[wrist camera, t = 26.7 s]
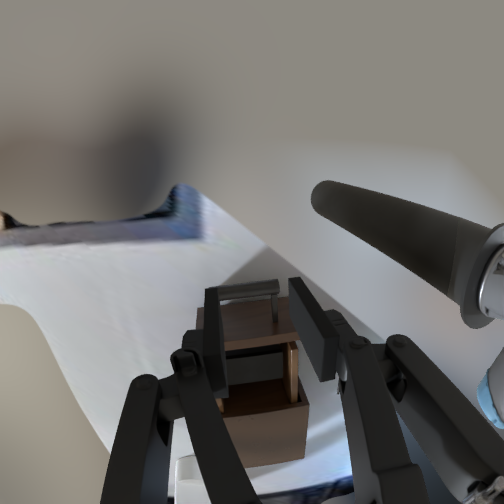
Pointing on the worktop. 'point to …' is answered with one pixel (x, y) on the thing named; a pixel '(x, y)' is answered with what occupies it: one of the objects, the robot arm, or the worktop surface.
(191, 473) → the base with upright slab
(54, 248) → the worktop surface
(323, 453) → the worktop surface
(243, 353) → the dark grey rectangular block
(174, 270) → the worktop surface
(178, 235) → the worktop surface
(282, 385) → the drawer
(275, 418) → the cabinet
